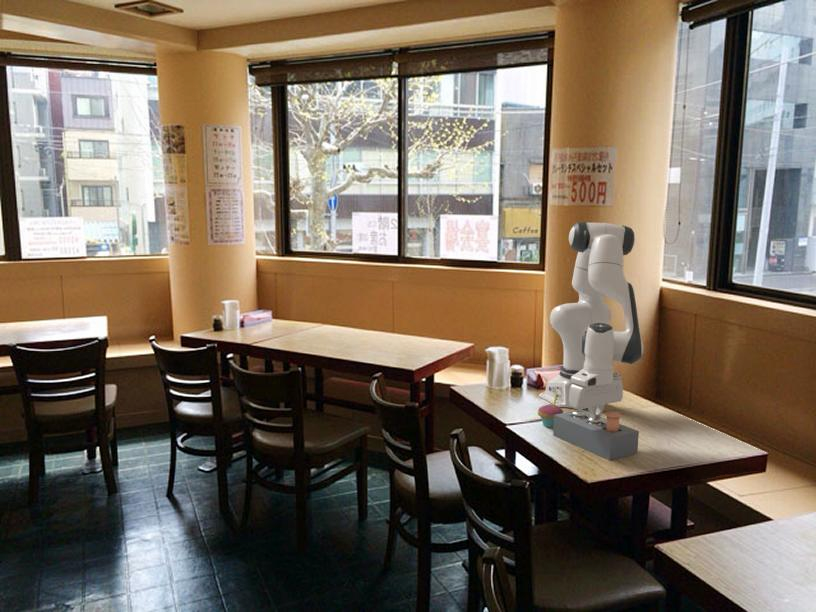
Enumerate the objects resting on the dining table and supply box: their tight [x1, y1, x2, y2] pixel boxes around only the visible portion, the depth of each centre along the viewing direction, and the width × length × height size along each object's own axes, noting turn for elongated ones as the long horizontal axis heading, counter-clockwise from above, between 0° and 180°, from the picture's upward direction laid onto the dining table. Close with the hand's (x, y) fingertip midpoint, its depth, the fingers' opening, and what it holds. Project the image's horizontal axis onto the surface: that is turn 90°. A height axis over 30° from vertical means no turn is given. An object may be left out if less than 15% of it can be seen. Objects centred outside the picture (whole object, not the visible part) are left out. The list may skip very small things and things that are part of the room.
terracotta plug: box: [605, 410, 621, 433], centre depth 196 cm, size 4×4×8 cm
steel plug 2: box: [588, 417, 602, 426], centre depth 202 cm, size 4×4×8 cm
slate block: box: [552, 409, 640, 461], centre depth 202 cm, size 24×12×7 cm, turn 30°
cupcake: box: [537, 391, 564, 428], centre depth 219 cm, size 9×8×12 cm
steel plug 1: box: [572, 409, 586, 419], centre depth 208 cm, size 4×4×8 cm
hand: (595, 418), depth 202 cm, fingers closed, pressing on steel plug 2
